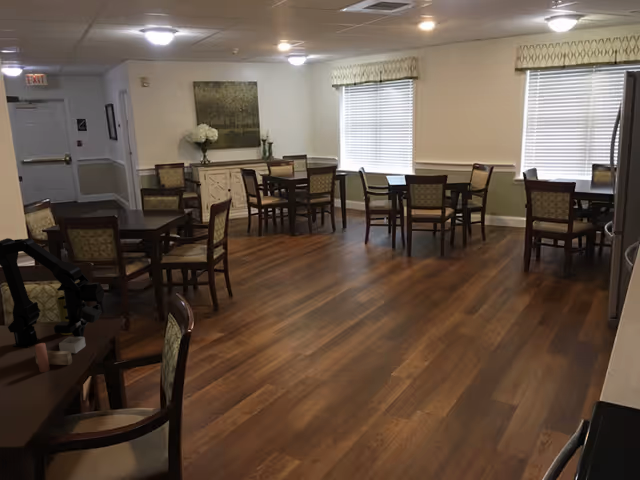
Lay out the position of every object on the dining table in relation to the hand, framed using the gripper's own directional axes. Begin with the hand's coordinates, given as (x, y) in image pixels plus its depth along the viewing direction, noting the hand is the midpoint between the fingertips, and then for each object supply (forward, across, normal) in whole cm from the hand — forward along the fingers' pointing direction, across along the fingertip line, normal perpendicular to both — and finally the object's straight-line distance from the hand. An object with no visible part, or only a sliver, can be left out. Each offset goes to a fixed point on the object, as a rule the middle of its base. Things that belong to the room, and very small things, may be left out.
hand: (80, 341), depth 188 cm
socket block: (+1, -5, 0) cm, 5 cm away
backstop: (+1, -15, 0) cm, 15 cm away
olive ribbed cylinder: (+1, +10, +11) cm, 15 cm away
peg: (+1, -20, 0) cm, 20 cm away
